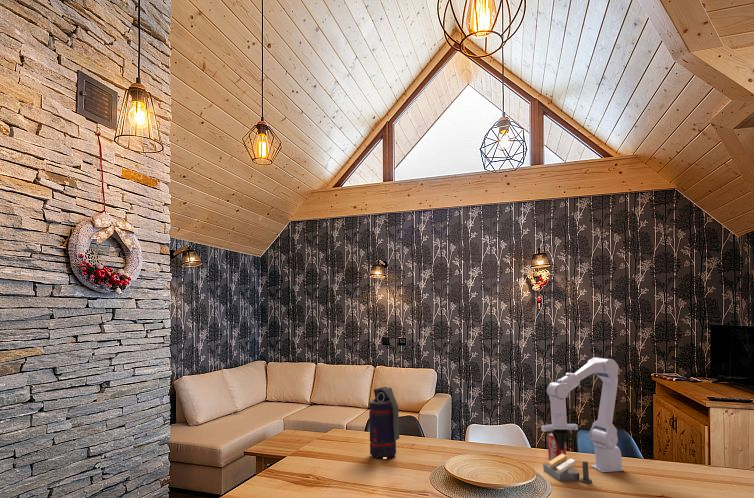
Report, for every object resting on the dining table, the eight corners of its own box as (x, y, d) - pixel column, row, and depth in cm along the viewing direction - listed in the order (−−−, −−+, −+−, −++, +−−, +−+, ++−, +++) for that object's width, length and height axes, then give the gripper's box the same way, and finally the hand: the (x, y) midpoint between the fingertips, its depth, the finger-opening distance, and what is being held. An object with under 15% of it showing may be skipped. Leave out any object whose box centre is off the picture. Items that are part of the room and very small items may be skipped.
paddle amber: (563, 456, 197) (562, 453, 197) (568, 459, 193) (566, 455, 193) (549, 465, 195) (547, 461, 196) (553, 468, 192) (551, 464, 192)
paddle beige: (572, 461, 190) (570, 458, 190) (577, 464, 187) (575, 460, 187) (557, 470, 189) (555, 467, 189) (562, 473, 186) (560, 470, 186)
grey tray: (561, 468, 199) (561, 458, 199) (579, 479, 186) (578, 469, 187) (543, 470, 198) (542, 459, 198) (560, 481, 185) (559, 470, 185)
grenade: (364, 457, 219) (363, 388, 222) (379, 450, 229) (378, 385, 232) (390, 462, 211) (389, 391, 214) (404, 455, 221) (403, 387, 224)
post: (588, 479, 187) (586, 460, 187) (594, 483, 183) (592, 463, 184) (578, 480, 186) (577, 460, 187) (584, 483, 182) (583, 464, 183)
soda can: (568, 467, 201) (566, 436, 202) (550, 466, 202) (548, 436, 204) (565, 461, 208) (563, 432, 209) (547, 461, 209) (546, 432, 211)
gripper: (546, 416, 189) (548, 453, 187) (581, 415, 191) (583, 451, 189) (537, 413, 196) (539, 448, 194) (571, 411, 198) (573, 446, 196)
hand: (560, 449), depth 192 cm, fingers closed
